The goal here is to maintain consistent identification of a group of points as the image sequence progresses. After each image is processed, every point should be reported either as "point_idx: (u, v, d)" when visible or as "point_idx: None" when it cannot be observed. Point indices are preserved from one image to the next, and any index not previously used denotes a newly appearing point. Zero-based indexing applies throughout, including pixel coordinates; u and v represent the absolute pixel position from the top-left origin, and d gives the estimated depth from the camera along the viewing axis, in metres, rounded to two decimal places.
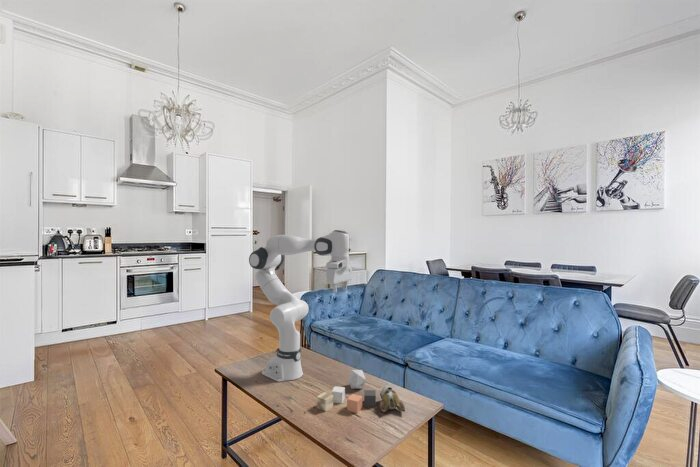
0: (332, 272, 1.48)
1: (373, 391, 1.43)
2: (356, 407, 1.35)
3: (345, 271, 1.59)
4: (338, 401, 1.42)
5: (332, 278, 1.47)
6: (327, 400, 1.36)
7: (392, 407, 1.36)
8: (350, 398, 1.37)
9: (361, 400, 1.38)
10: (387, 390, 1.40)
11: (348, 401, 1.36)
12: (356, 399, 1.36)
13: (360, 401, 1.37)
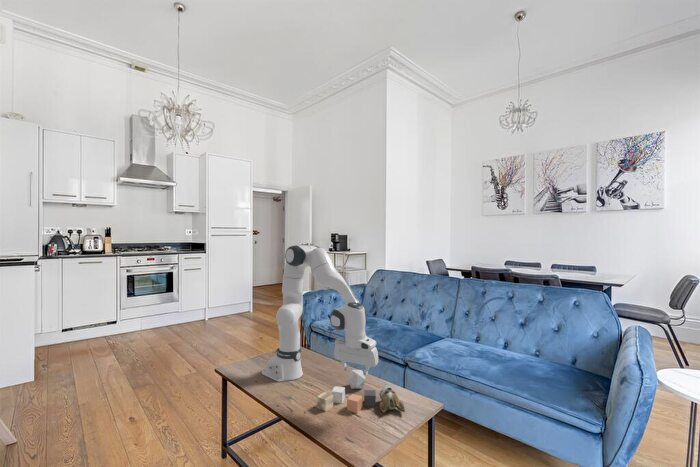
0: (377, 352, 1.35)
1: (373, 391, 1.43)
2: (356, 407, 1.35)
3: None
4: (338, 401, 1.42)
5: (377, 358, 1.35)
6: (327, 400, 1.36)
7: (392, 407, 1.35)
8: (350, 398, 1.37)
9: (361, 400, 1.38)
10: (387, 390, 1.40)
11: (348, 401, 1.36)
12: (356, 399, 1.36)
13: (360, 401, 1.37)
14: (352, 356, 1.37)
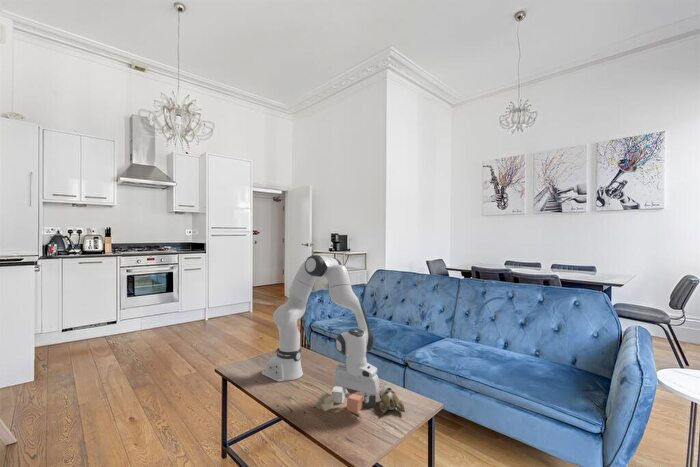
0: (378, 379, 1.35)
1: None
2: (356, 407, 1.35)
3: None
4: (338, 401, 1.42)
5: None
6: (327, 400, 1.36)
7: (392, 407, 1.35)
8: (350, 398, 1.37)
9: (361, 400, 1.38)
10: (386, 390, 1.39)
11: (348, 401, 1.36)
12: (356, 399, 1.36)
13: (360, 401, 1.37)
14: (353, 383, 1.37)
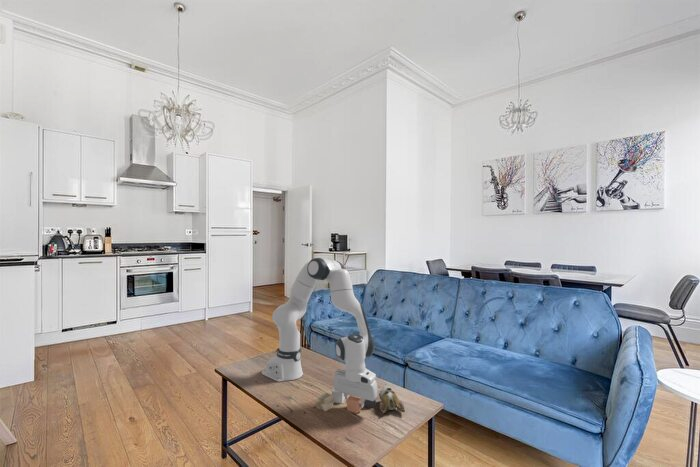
0: (376, 385, 1.35)
1: None
2: (356, 407, 1.35)
3: None
4: (338, 401, 1.42)
5: (377, 391, 1.34)
6: (327, 400, 1.36)
7: (392, 408, 1.35)
8: (350, 398, 1.37)
9: (361, 400, 1.38)
10: (386, 391, 1.39)
11: (348, 401, 1.36)
12: (356, 399, 1.36)
13: (360, 401, 1.37)
14: (351, 389, 1.37)
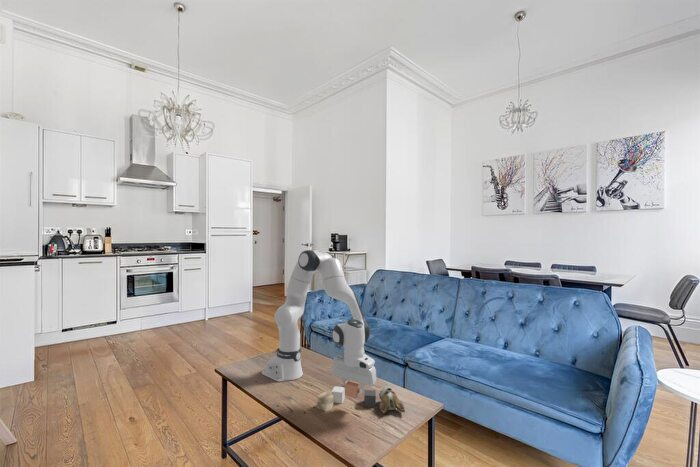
0: (375, 371, 1.34)
1: (373, 391, 1.43)
2: (354, 392, 1.34)
3: None
4: (338, 401, 1.42)
5: (375, 377, 1.34)
6: (327, 400, 1.36)
7: (392, 408, 1.35)
8: (348, 383, 1.37)
9: (360, 386, 1.38)
10: (387, 391, 1.39)
11: (346, 386, 1.36)
12: (354, 384, 1.36)
13: (358, 387, 1.37)
14: (350, 374, 1.36)
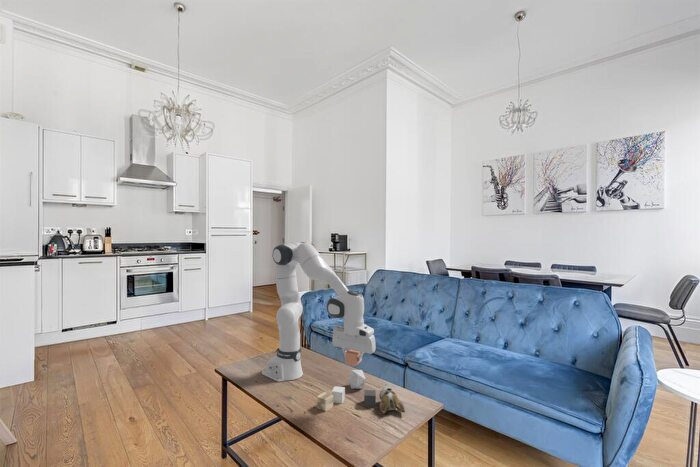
0: (374, 339, 1.37)
1: (373, 391, 1.43)
2: (354, 360, 1.37)
3: None
4: (338, 401, 1.42)
5: (375, 345, 1.37)
6: (327, 400, 1.36)
7: (392, 408, 1.35)
8: (348, 352, 1.40)
9: (359, 355, 1.41)
10: (387, 391, 1.39)
11: (346, 355, 1.39)
12: (354, 353, 1.39)
13: (358, 355, 1.40)
14: (349, 343, 1.39)
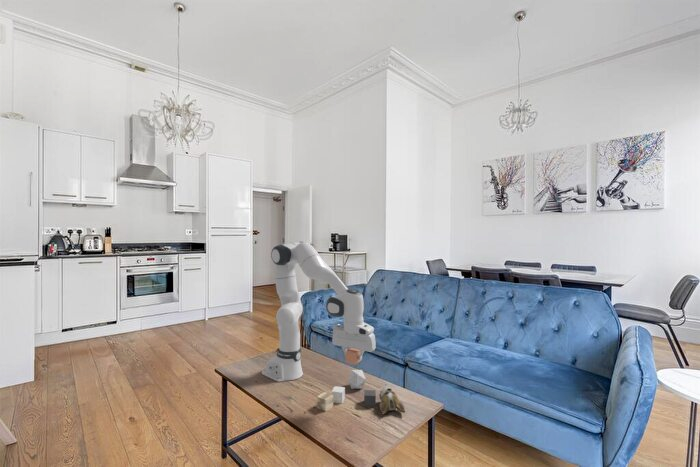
0: (374, 337, 1.37)
1: (373, 391, 1.43)
2: (354, 358, 1.37)
3: None
4: (338, 401, 1.42)
5: (375, 343, 1.37)
6: (327, 400, 1.36)
7: (392, 408, 1.35)
8: (348, 351, 1.40)
9: None
10: (387, 391, 1.39)
11: (347, 353, 1.39)
12: (354, 351, 1.39)
13: None
14: (350, 342, 1.39)
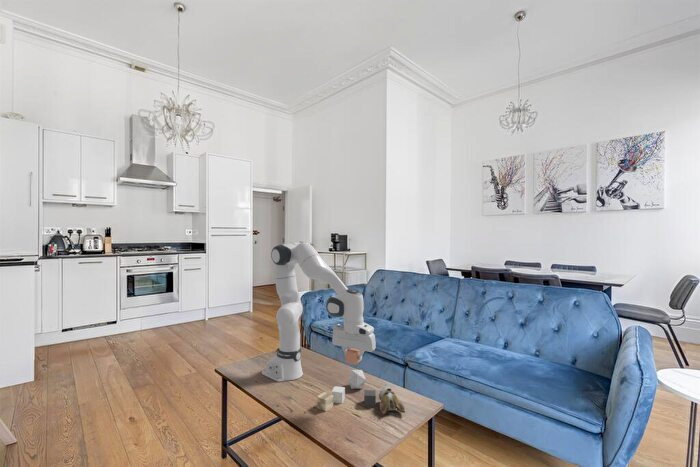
0: (374, 337, 1.37)
1: (373, 391, 1.43)
2: (354, 358, 1.37)
3: None
4: (338, 401, 1.42)
5: (375, 343, 1.37)
6: (327, 400, 1.36)
7: (392, 408, 1.35)
8: (348, 351, 1.40)
9: None
10: (386, 391, 1.39)
11: (347, 353, 1.39)
12: (354, 351, 1.39)
13: None
14: (350, 342, 1.39)
